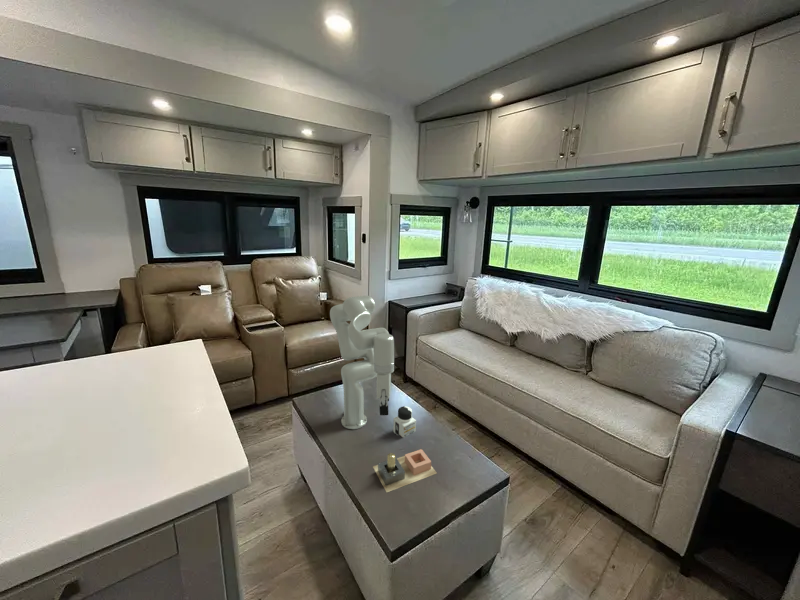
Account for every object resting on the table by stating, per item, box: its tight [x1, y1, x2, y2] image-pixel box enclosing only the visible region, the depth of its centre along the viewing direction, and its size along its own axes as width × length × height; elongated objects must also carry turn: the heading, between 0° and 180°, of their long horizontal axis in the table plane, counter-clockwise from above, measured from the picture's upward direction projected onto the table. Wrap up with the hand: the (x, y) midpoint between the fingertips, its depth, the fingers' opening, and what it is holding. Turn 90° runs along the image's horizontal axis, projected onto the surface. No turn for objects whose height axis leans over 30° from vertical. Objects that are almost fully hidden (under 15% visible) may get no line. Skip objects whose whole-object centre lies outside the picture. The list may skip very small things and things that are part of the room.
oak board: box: [372, 455, 438, 493], centre depth 133 cm, size 14×22×2 cm, turn 116°
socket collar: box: [404, 448, 432, 475], centre depth 135 cm, size 8×8×4 cm
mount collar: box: [377, 457, 405, 485], centre depth 130 cm, size 8×8×4 cm
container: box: [392, 405, 417, 439], centre depth 155 cm, size 8×8×13 cm
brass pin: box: [386, 452, 396, 473], centre depth 129 cm, size 3×3×9 cm
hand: (384, 407), depth 127 cm, fingers open, 9 cm apart
